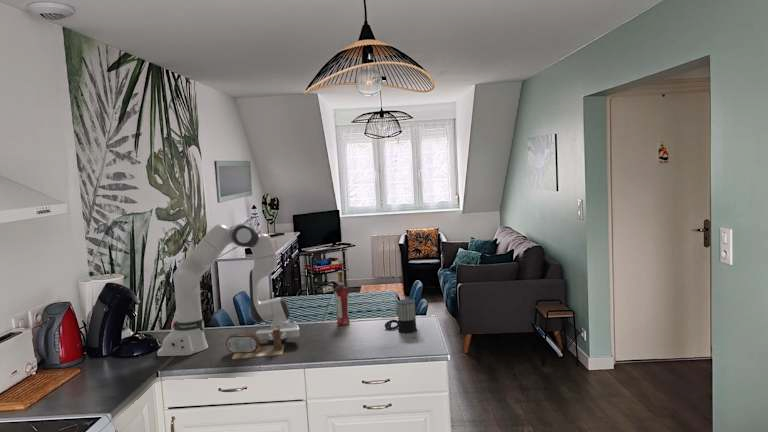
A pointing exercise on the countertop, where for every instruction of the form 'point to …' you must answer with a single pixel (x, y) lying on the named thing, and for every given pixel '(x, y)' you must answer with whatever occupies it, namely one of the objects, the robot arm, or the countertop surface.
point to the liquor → (341, 301)
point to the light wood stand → (265, 348)
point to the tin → (242, 343)
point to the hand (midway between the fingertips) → (276, 338)
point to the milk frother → (404, 317)
